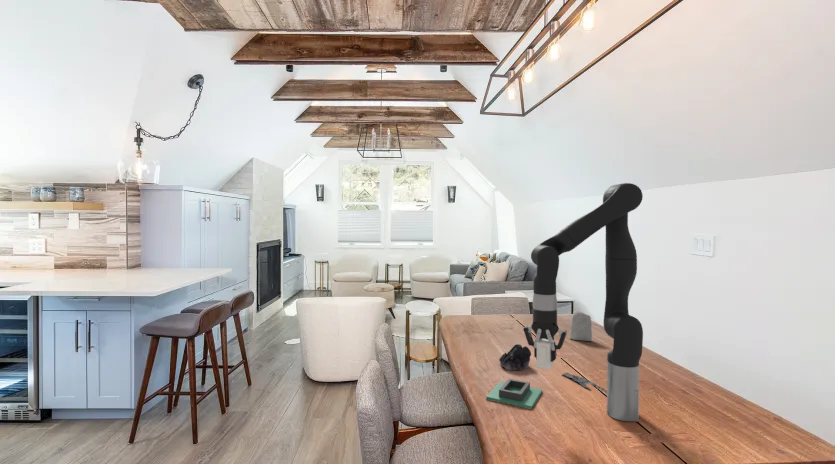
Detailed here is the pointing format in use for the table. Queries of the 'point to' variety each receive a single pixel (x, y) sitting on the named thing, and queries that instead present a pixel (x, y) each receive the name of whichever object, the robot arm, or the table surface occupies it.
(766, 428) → the table surface
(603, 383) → the table surface
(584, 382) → the driftwood
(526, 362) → the crystal cluster
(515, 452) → the table surface
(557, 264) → the robot arm
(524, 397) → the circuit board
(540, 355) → the plug
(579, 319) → the decorative stone
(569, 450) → the table surface
